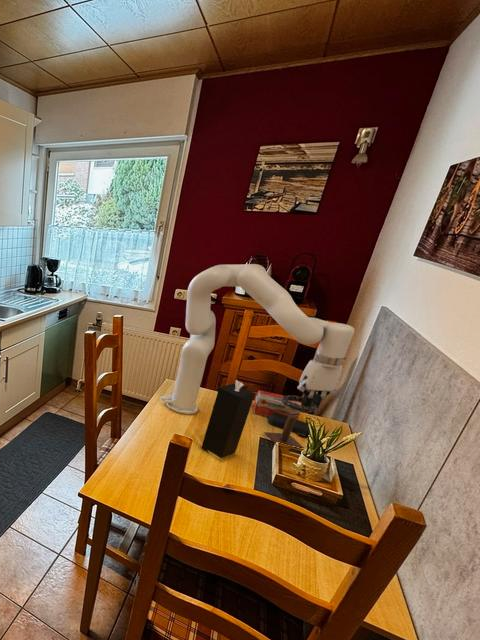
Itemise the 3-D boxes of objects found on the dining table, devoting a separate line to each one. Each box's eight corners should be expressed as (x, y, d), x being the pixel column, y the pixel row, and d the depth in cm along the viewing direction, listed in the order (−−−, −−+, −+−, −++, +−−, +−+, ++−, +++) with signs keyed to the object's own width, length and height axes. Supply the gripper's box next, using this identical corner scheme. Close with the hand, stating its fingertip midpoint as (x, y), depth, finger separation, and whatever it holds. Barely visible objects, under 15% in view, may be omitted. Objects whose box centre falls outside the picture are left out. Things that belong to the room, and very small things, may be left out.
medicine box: (253, 413, 166) (259, 396, 163) (252, 405, 173) (258, 389, 169) (296, 423, 159) (302, 407, 156) (293, 415, 166) (300, 399, 163)
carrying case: (265, 427, 156) (310, 441, 148) (267, 420, 155) (313, 434, 146) (268, 416, 164) (311, 430, 155) (271, 410, 163) (314, 423, 154)
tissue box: (220, 460, 134) (244, 388, 123) (200, 448, 140) (221, 378, 129) (234, 455, 137) (258, 384, 126) (214, 443, 144) (235, 374, 133)
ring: (292, 412, 135) (294, 407, 134) (274, 398, 145) (276, 393, 144) (323, 414, 135) (325, 409, 134) (303, 399, 144) (305, 395, 143)
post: (277, 449, 142) (287, 422, 137) (263, 435, 150) (272, 409, 146) (302, 450, 142) (313, 423, 137) (287, 436, 150) (297, 411, 145)
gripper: (344, 356, 135) (325, 402, 143) (296, 353, 136) (280, 400, 143) (361, 364, 129) (340, 413, 136) (311, 362, 129) (293, 410, 136)
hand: (309, 406), depth 139 cm, fingers closed on ring, 2 cm apart
